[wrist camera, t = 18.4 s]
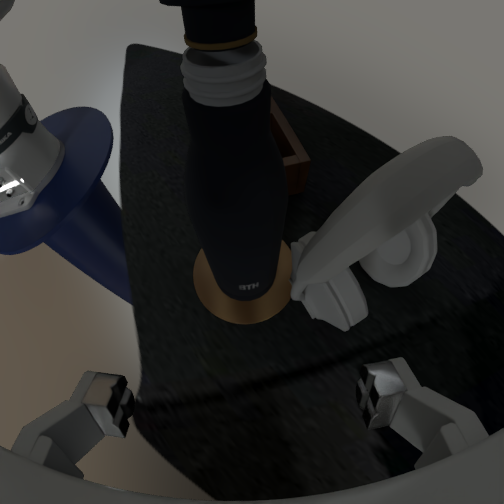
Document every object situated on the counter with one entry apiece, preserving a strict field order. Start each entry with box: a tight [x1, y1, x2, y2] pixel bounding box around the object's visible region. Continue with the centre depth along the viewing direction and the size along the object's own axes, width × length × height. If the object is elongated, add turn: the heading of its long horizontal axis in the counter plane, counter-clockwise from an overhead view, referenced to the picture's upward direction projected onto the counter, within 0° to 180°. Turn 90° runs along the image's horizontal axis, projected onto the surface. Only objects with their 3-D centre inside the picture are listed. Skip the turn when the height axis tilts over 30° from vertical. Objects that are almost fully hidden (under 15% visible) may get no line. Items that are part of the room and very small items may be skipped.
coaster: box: [193, 240, 292, 324], centre depth 31 cm, size 11×11×1 cm
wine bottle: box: [159, 0, 289, 301], centre depth 18 cm, size 6×6×30 cm
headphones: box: [289, 136, 483, 331], centre depth 22 cm, size 19×9×20 cm, turn 119°
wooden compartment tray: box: [270, 96, 311, 196], centre depth 36 cm, size 10×19×6 cm, turn 18°
